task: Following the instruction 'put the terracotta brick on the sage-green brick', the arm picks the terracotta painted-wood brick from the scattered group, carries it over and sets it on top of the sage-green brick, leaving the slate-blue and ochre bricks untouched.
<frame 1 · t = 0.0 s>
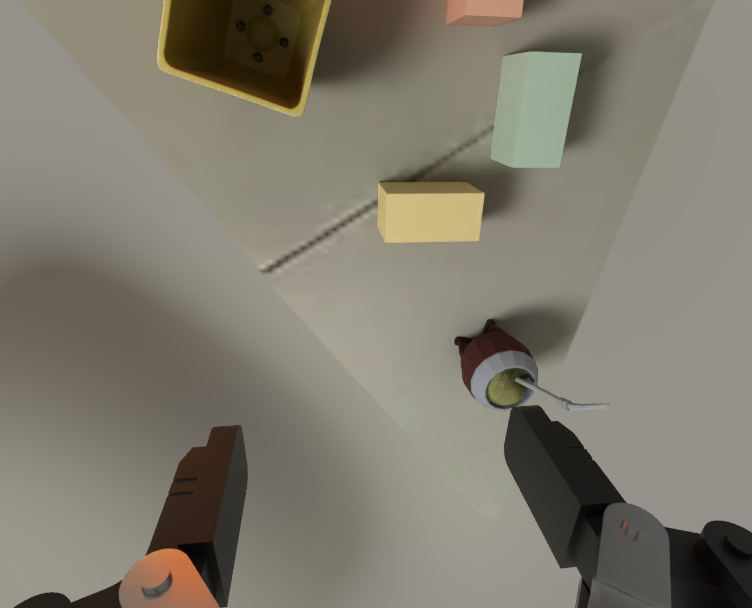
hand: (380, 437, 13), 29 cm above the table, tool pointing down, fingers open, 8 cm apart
mate gourd: (483, 340, 48), on the table
ochre brick: (421, 203, 40), on the table
sage brick: (518, 110, 38), on the table
flower pot: (263, 32, 33), on the table
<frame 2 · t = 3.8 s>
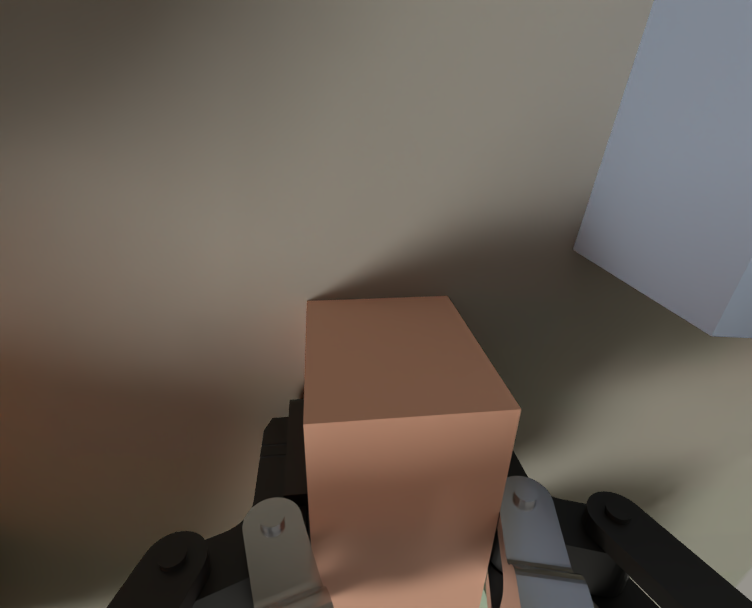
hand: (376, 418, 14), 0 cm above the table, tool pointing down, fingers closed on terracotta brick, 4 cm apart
slate brick: (689, 105, 11), on the table
terracotta brick: (375, 410, 14), on the table, touching gripper
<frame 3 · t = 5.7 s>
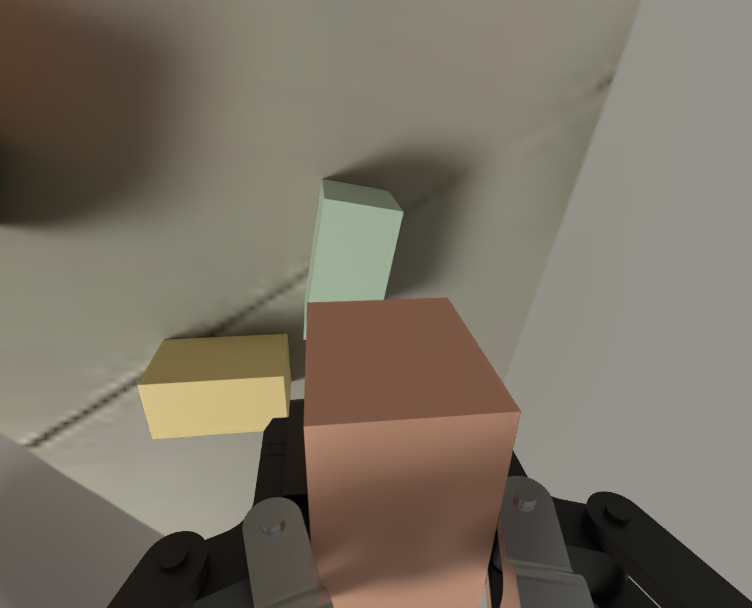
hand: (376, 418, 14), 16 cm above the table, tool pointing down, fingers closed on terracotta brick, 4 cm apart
terracotta brick: (375, 411, 14), point 15 cm above the table, touching gripper
ochre brick: (230, 360, 30), on the table
sage brick: (344, 247, 28), on the table
when the fingers open (7 cm above the table, at t = 7.6 s): terracotta brick drops 1 cm, resting on sage brick.
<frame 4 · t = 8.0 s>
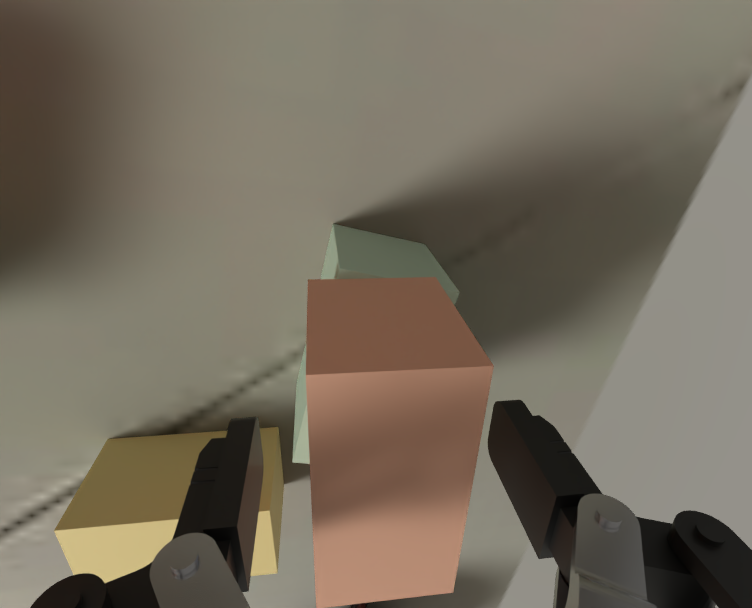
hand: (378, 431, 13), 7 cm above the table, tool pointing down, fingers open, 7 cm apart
terracotta brick: (369, 383, 15), point 5 cm above the table, touching sage brick
ochre brick: (201, 461, 22), on the table
sage brick: (357, 317, 20), on the table, touching terracotta brick
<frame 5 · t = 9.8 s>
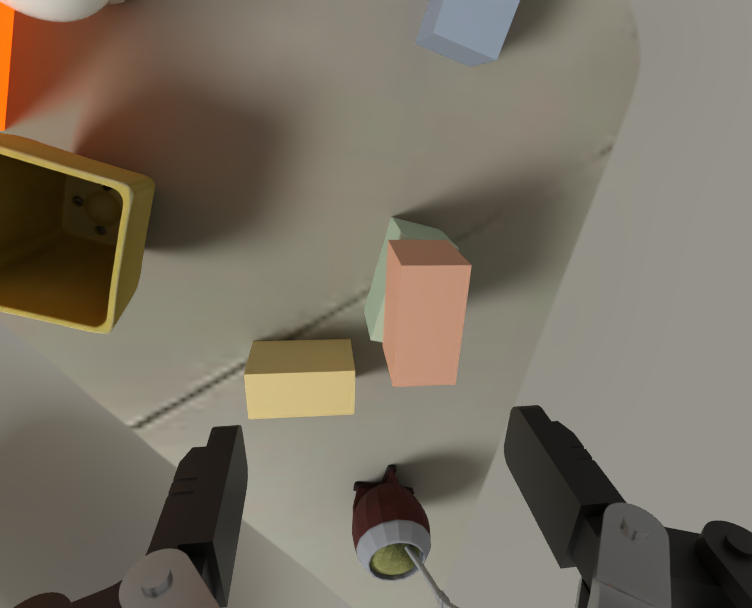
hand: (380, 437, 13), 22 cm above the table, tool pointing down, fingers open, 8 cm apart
mate gourd: (386, 483, 45), on the table
terracotta brick: (413, 295, 30), point 5 cm above the table, touching sage brick
ochre brick: (303, 359, 37), on the table
sage brick: (400, 271, 35), on the table, touching terracotta brick
flower pot: (106, 204, 30), on the table
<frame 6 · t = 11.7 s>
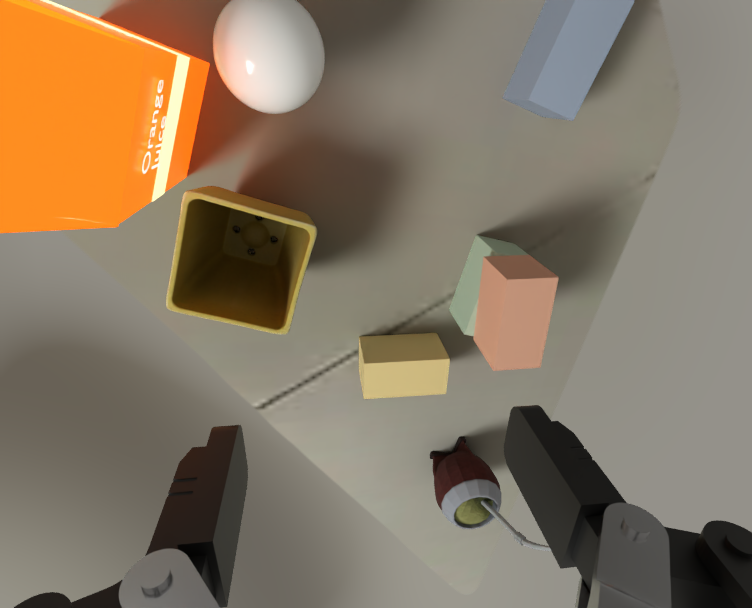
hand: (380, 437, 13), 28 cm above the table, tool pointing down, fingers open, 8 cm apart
slate brick: (545, 56, 35), on the table
lightbulb: (279, 62, 33), on the table
mate gourd: (456, 452, 53), on the table
terracotta brick: (500, 298, 38), point 5 cm above the table, touching sage brick
ochre brick: (397, 350, 45), on the table
sage brick: (480, 277, 43), on the table, touching terracotta brick
orange juice: (147, 103, 33), on the table
flower pot: (255, 231, 38), on the table
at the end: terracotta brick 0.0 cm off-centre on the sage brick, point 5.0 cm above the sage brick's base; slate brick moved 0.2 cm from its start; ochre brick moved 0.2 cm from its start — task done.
